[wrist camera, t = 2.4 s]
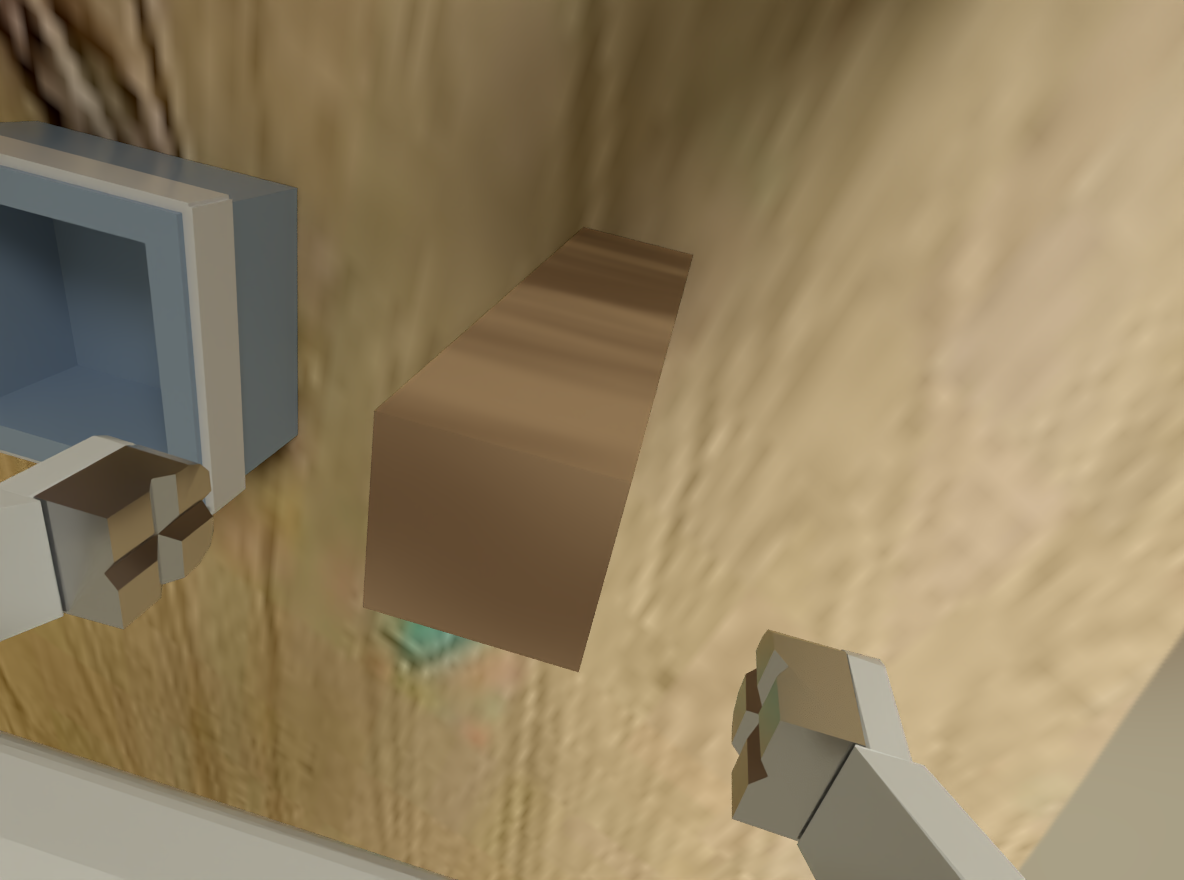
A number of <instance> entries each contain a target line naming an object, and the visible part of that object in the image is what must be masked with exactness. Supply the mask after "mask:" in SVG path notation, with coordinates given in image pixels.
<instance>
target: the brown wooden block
mask: <svg viewBox="0 0 1184 880" xmlns="http://www.w3.org/2000/svg"><path fill="white" fill-rule="evenodd" d="M692 257H693V255H691V254H687V253H683V252H679V251H675V250H671V249H667V248H663V247H659V246H655V245H651V244H647V243H644V242H640V241H636V240H632V239H628V238H624V237H620V236H616V235H612V234H608V233H604V232H600V231H596V230H593V229H589V228H585V227H583V228H582V229H581V230H580V231H579V232H578V233H577V234H575V235H574V236H573V237H572V238H571V239H570V240H569V241H567V242H566V243H565V244H564V245H563V246H562V247H561V248H559V249H558V250H557V251H556V252H555V253H554V254H553V255H551V256H550V257H549V258H548V259H547V260H546V261H545V262H543V263H542V264H541V265H540V266H539V267H538V268H537V269H535V270H534V271H533V272H532V273H531V274H530V275H529V276H527V277H526V278H525V279H524V280H523V281H522V282H521V283H519V284H518V285H517V286H516V287H515V288H514V289H513V290H512V291H510V292H509V293H508V294H507V295H506V296H505V297H504V298H502V299H501V300H500V301H499V302H498V303H497V304H496V305H494V306H493V307H492V308H491V309H490V310H489V311H488V312H486V313H485V314H484V315H483V316H482V317H481V318H480V319H478V320H477V321H476V322H475V323H474V324H473V325H472V326H470V327H469V328H468V329H467V330H466V331H465V332H464V333H462V334H461V335H460V336H459V337H458V338H457V339H456V340H454V341H453V342H452V343H451V344H450V345H449V346H448V347H446V348H445V349H444V350H443V351H442V352H441V353H440V354H438V355H437V356H436V357H435V358H434V359H433V360H432V361H431V362H429V363H428V364H427V365H426V366H425V367H424V368H423V369H421V370H420V371H419V372H418V373H417V374H416V375H415V376H413V377H412V378H411V379H410V380H409V381H408V382H407V383H405V384H404V385H403V386H402V387H401V388H400V389H399V390H397V391H396V392H395V393H394V394H393V395H392V396H391V397H389V398H388V399H387V400H386V401H385V402H384V403H383V404H381V405H380V406H379V407H378V408H377V409H376V410H375V411H374V426H373V444H372V461H371V478H370V495H369V512H368V529H367V547H366V564H365V581H364V598H363V607H364V608H367V609H371V610H374V611H377V612H381V613H384V614H387V615H390V616H394V617H397V618H400V619H404V620H407V621H410V622H414V623H417V624H420V625H424V626H427V627H430V628H434V629H437V630H440V631H443V632H447V633H450V634H453V635H457V636H460V637H463V638H467V639H470V640H473V641H477V642H480V643H483V644H487V645H490V646H493V647H497V648H500V649H503V650H506V651H510V652H513V653H516V654H520V655H523V656H526V657H530V658H533V659H536V660H540V661H543V662H546V663H550V664H553V665H556V666H559V667H563V668H566V669H569V670H573V671H576V672H579V669H580V665H581V661H582V658H583V654H584V651H585V647H586V643H587V640H588V636H589V633H590V629H591V625H592V622H593V618H594V615H595V611H596V608H597V604H598V600H599V597H600V593H601V590H602V586H603V582H604V579H605V575H606V572H607V568H608V564H609V561H610V557H611V554H612V550H613V547H614V543H615V539H616V536H617V532H618V529H619V525H620V521H621V518H622V514H623V511H624V507H625V504H626V500H627V496H628V493H629V489H630V486H631V482H632V478H633V475H634V471H635V467H636V464H637V460H638V456H639V453H640V449H641V445H642V441H643V438H644V434H645V430H646V427H647V423H648V419H649V416H650V412H651V408H652V405H653V401H654V397H655V394H656V390H657V386H658V383H659V379H660V375H661V371H662V368H663V364H664V360H665V357H666V353H667V349H668V346H669V342H670V338H671V335H672V331H673V327H674V324H675V320H676V316H677V313H678V309H679V305H680V301H681V298H682V294H683V290H684V287H685V283H686V279H687V276H688V272H689V268H690V265H691V261H692Z"/></svg>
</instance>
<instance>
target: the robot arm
mask: <svg viewBox="0 0 1184 880" xmlns="http://www.w3.org/2000/svg"><path fill="white" fill-rule="evenodd" d="M210 492H211V483H210V474H209V471H208V470H207V469H206V468H205V467H204V466H202V465H201V464H199V463H196V462H193V461H189V460H186V459H183V458H180V457H177V456H174V455H170V454H167V453H164V452H161V451H158V450H155V449H151V448H148V447H145V446H142V445H136V444H134V443H131V442H128V441H124V440H121V439H118V438H115V437H111V436H108V435H99V436H92V437H90V438H88V439H86V440H84V441H82V442H80V443H78V444H76V445H74V446H72V447H70V448H68V449H66V450H64V451H62V452H60V453H58V454H56V455H54V456H52V457H50V458H48V459H46V460H44V461H42V462H40V463H38V464H36V465H34V466H32V467H30V468H28V469H26V470H25V471H23V472H21V473H19V474H17V475H15V476H13V477H11V478H9V479H7V480H5V481H3V482H1V483H0V641H3V640H5V639H8V638H10V637H13V636H15V635H18V634H20V633H23V632H25V631H28V630H30V629H32V628H35V627H37V626H40V625H42V624H45V623H47V622H50V621H52V620H55V619H57V618H60V617H62V616H63V615H64V614H63V613H67V614H70V615H74V616H77V617H81V618H84V619H88V620H92V621H95V622H99V623H102V624H106V625H110V626H113V627H117V628H120V629H125V628H126V627H127V626H128V625H130V624H131V623H132V622H133V621H134V620H135V619H137V618H138V617H139V616H140V615H141V614H142V613H144V612H145V611H146V610H147V609H148V608H150V607H151V606H152V605H153V604H154V603H155V602H157V601H158V600H159V599H160V598H161V595H162V586H163V584H166V583H169V582H172V581H175V580H178V579H181V578H184V577H186V576H187V575H188V574H189V573H190V572H191V571H192V570H193V569H195V568H196V567H197V566H198V565H199V564H200V562H201V561H202V559H203V557H204V555H205V554H206V552H207V550H208V549H209V547H210V544H211V540H212V535H213V531H214V529H213V516H212V514H211V513H210V511H209V510H208V508H207V507H206V505H205V504H204V502H203V501H202V500H203V499H204V498H205V497H206V496H207V495H208V494H209V493H210ZM756 664H757V668H756V669H755V670H753V671H751V672H749V673H747V674H746V675H745V677H744V680H743V682H742V685H741V687H740V690H739V692H738V696H737V700H736V704H735V708H734V713H733V722H732V745H733V746H734V748H735V749H736V751H737V752H738V754H739V757H738V759H737V762H736V764H735V766H734V768H733V770H732V819H734V820H737V821H740V822H743V823H746V824H749V825H752V826H755V827H758V828H761V829H764V830H767V831H770V832H772V833H775V834H778V835H781V836H784V837H787V838H790V839H793V840H796V841H799V842H798V844H797V845H798V847H799V849H800V851H801V853H802V855H803V857H804V858H805V860H806V862H807V864H808V866H809V868H810V870H811V872H812V874H813V876H814V877H815V879H816V880H1026V879H1025V878H1024V877H1023V876H1022V875H1021V873H1020V872H1019V871H1018V870H1017V869H1016V868H1015V867H1014V866H1013V864H1012V863H1011V862H1010V861H1009V860H1008V859H1007V858H1006V857H1005V855H1004V854H1003V853H1002V852H1001V851H1000V850H999V849H998V848H997V847H996V845H995V844H994V843H993V842H992V841H991V840H990V839H989V838H988V836H987V835H986V834H985V833H984V832H983V831H982V830H981V829H980V827H979V826H978V825H977V824H976V823H975V822H974V821H973V820H972V818H971V817H970V816H969V815H968V814H967V813H966V812H965V811H964V809H963V808H962V807H961V806H960V805H959V804H958V803H957V802H956V800H955V799H954V798H953V797H952V796H951V795H950V794H949V793H948V791H947V790H946V789H945V788H944V787H943V786H942V785H941V784H940V783H939V781H938V780H937V779H936V778H935V777H934V776H933V775H932V774H931V772H930V771H929V770H928V769H927V768H926V767H925V766H924V765H921V764H918V763H915V762H912V758H911V755H910V751H909V748H908V744H907V741H906V737H905V734H904V730H903V727H902V723H901V720H900V716H899V713H898V709H897V706H896V702H895V699H894V695H893V692H892V688H891V685H890V681H889V678H888V674H887V671H886V667H885V665H884V664H883V663H882V661H881V660H880V659H877V658H873V657H869V656H865V655H862V654H858V653H854V652H850V651H847V650H843V649H842V650H838V649H835V648H832V647H828V646H825V645H821V644H818V643H814V642H811V641H807V640H804V639H800V638H797V637H793V636H790V635H786V634H783V633H779V632H776V631H772V630H769V629H768V630H767V631H766V633H765V634H764V635H763V637H762V639H761V641H760V643H759V645H758V647H757V650H756ZM0 880H457V879H453V878H450V877H447V876H444V875H441V874H438V873H435V872H432V871H429V870H426V869H423V868H420V867H416V866H413V865H410V864H407V863H404V862H401V861H398V860H395V859H392V858H389V857H386V856H383V855H379V854H376V853H373V852H370V851H367V850H364V849H361V848H358V847H355V846H352V845H349V844H346V843H343V842H340V841H337V840H334V839H331V838H328V837H325V836H321V835H318V834H315V833H312V832H309V831H306V830H303V829H300V828H297V827H294V826H291V825H288V824H285V823H282V822H279V821H276V820H273V819H270V818H267V817H263V816H260V815H257V814H254V813H251V812H248V811H245V810H242V809H239V808H236V807H233V806H230V805H227V804H224V803H221V802H218V801H215V800H212V799H209V798H205V797H202V796H199V795H196V794H193V793H190V792H187V791H184V790H181V789H178V788H175V787H172V786H169V785H166V784H163V783H160V782H157V781H154V780H151V779H147V778H144V777H141V776H138V775H135V774H132V773H129V772H126V771H123V770H120V769H117V768H114V767H111V766H108V765H105V764H102V763H99V762H96V761H92V760H89V759H86V758H83V757H80V756H77V755H74V754H71V753H68V752H65V751H62V750H59V749H56V748H53V747H50V746H47V745H43V744H40V743H37V742H34V741H31V740H28V739H25V738H22V737H19V736H16V735H13V734H10V733H7V732H4V731H1V730H0Z"/></svg>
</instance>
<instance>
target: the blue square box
mask: <svg viewBox="0 0 1184 880" xmlns="http://www.w3.org/2000/svg"><path fill="white" fill-rule="evenodd" d="M99 435H108V436H111V437H115V438H118V439H121V440H124V441H128V442H131V443H134V444H136V445H142V446H145V447H148V448H151V449H155V450H158V451H161V452H164V453H167V454H170V455H174V456H177V457H180V458H183V459H186V460H189V461H193V462H196V463H199V464H201V465H202V466H204V467H205V468H206V469H207V470H208V471H209V474H210V483H211V492H210V493H209V494H208V495H207V496H206V497H205V498H204V499H203V500H202V501H203V502H204V504H205V505H206V507H207V508H208V510H209V511H210V513H211V514H212V515H213V514H214V513H216V512H217V511H219V510H220V509H221V508H222V507H224V506H225V505H226V504H227V503H229V502H230V501H231V500H232V499H233V498H235V497H236V496H237V495H238V494H240V493H241V492H242V491H243V490H245V489H246V485H245V475H247V474H248V473H249V472H250V471H252V470H253V469H254V468H256V467H257V466H258V465H259V464H261V463H262V462H263V461H265V460H266V459H267V458H268V457H270V456H271V455H272V454H274V453H275V452H276V451H277V450H279V449H280V448H281V447H283V446H284V445H285V444H286V443H288V442H289V441H290V440H292V439H293V438H294V437H295V436H297V435H298V361H297V188H295V187H291V186H287V185H283V184H279V183H275V182H272V181H268V180H264V179H260V178H256V177H252V176H248V175H245V174H241V173H237V172H233V171H229V170H225V169H221V168H217V167H214V166H210V165H206V164H202V163H198V162H194V161H190V160H187V159H183V158H179V157H175V156H171V155H167V154H163V153H159V152H156V151H152V150H148V149H144V148H140V147H136V146H132V145H128V144H125V143H121V142H117V141H113V140H109V139H105V138H101V137H98V136H94V135H90V134H86V133H82V132H78V131H74V130H70V129H67V128H63V127H59V126H55V125H51V124H47V123H43V122H40V121H21V122H0V452H1V453H4V454H8V455H11V456H14V457H18V458H21V459H25V460H28V461H31V462H35V463H40V462H42V461H44V460H46V459H48V458H50V457H52V456H54V455H56V454H58V453H60V452H62V451H64V450H66V449H68V448H70V447H72V446H74V445H76V444H78V443H80V442H82V441H84V440H86V439H88V438H90V437H92V436H99Z"/></svg>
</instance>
